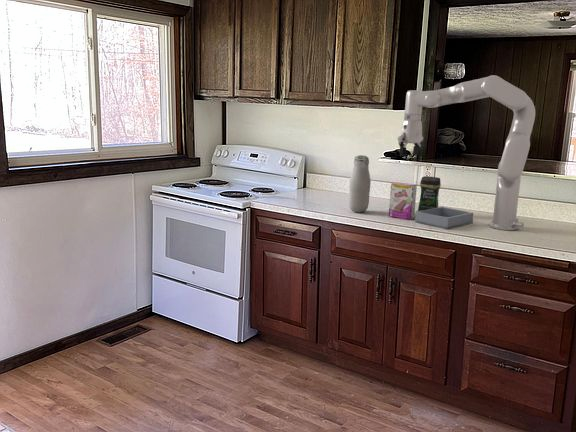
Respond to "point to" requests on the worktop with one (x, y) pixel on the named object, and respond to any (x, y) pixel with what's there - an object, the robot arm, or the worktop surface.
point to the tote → (444, 217)
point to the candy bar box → (402, 200)
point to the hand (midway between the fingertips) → (409, 155)
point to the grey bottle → (359, 185)
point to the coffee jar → (429, 193)
